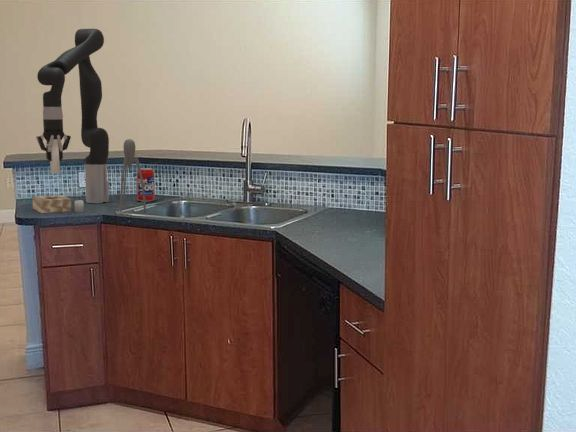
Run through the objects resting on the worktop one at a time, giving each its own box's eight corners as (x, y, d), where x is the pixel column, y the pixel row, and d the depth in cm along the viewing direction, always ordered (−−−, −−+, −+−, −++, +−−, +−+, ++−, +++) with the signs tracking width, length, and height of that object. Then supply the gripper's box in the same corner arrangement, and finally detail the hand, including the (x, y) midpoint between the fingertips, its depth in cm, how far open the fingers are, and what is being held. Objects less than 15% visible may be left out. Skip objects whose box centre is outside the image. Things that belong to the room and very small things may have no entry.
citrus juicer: (146, 211, 300) (145, 139, 295) (131, 214, 291) (130, 140, 286) (124, 208, 304) (123, 138, 299) (108, 212, 295) (108, 139, 290)
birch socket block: (61, 207, 304) (61, 195, 304) (71, 211, 295) (70, 199, 294) (32, 208, 297) (32, 197, 297) (41, 213, 288) (41, 200, 287)
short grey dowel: (81, 210, 297) (81, 200, 296) (85, 212, 294) (84, 201, 293) (73, 211, 295) (73, 200, 294) (76, 212, 292) (76, 201, 291)
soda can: (147, 199, 333) (147, 167, 331) (157, 201, 328) (157, 168, 325) (133, 200, 328) (133, 168, 325) (143, 203, 322) (143, 169, 320)
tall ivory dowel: (58, 172, 295) (56, 138, 292) (61, 173, 292) (59, 139, 289) (49, 173, 292) (47, 138, 290) (52, 174, 290) (51, 139, 287)
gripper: (66, 117, 295) (68, 159, 298) (32, 117, 287) (34, 160, 290) (73, 118, 289) (75, 160, 292) (38, 118, 281) (40, 162, 284)
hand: (54, 160), depth 291 cm, fingers closed on tall ivory dowel, 3 cm apart
